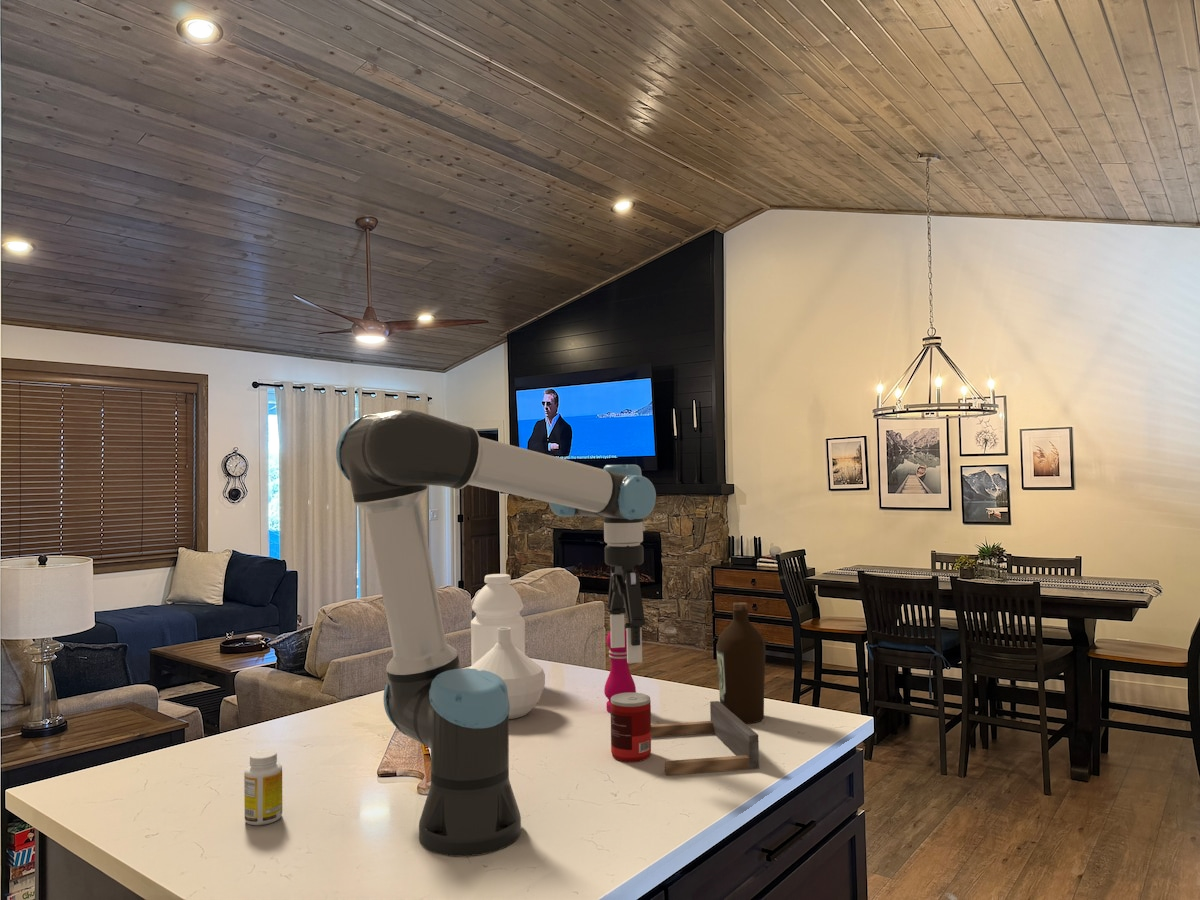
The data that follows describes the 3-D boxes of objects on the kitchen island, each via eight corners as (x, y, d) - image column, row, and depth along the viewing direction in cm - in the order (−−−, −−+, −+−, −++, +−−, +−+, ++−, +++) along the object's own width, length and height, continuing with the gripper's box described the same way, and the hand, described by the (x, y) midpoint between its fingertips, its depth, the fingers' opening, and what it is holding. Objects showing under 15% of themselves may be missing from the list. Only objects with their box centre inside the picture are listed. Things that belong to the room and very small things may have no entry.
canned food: (651, 749, 162) (651, 692, 163) (650, 763, 154) (649, 703, 155) (612, 748, 163) (612, 691, 163) (609, 762, 155) (608, 703, 155)
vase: (552, 703, 195) (551, 621, 196) (535, 727, 177) (534, 637, 177) (477, 701, 198) (476, 620, 198) (452, 724, 180) (452, 635, 180)
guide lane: (666, 775, 148) (666, 741, 148) (638, 735, 171) (637, 705, 171) (758, 768, 151) (758, 734, 151) (718, 729, 174) (718, 701, 174)
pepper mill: (600, 713, 187) (599, 624, 187) (609, 704, 193) (608, 618, 194) (631, 715, 184) (630, 625, 185) (639, 707, 191) (638, 619, 192)
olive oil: (765, 711, 187) (763, 599, 188) (768, 725, 177) (766, 607, 177) (717, 709, 188) (715, 599, 189) (717, 724, 178) (716, 606, 179)
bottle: (476, 694, 204) (475, 579, 205) (466, 681, 217) (465, 573, 218) (531, 688, 209) (530, 576, 209) (518, 676, 222) (518, 571, 223)
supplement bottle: (286, 811, 134) (286, 747, 134) (276, 825, 128) (276, 759, 129) (250, 813, 133) (250, 748, 134) (239, 827, 128) (239, 760, 128)
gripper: (660, 549, 149) (662, 668, 149) (627, 538, 174) (629, 640, 173) (620, 550, 148) (622, 670, 147) (592, 539, 172) (593, 642, 171)
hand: (625, 654), depth 160 cm, fingers open, 13 cm apart
